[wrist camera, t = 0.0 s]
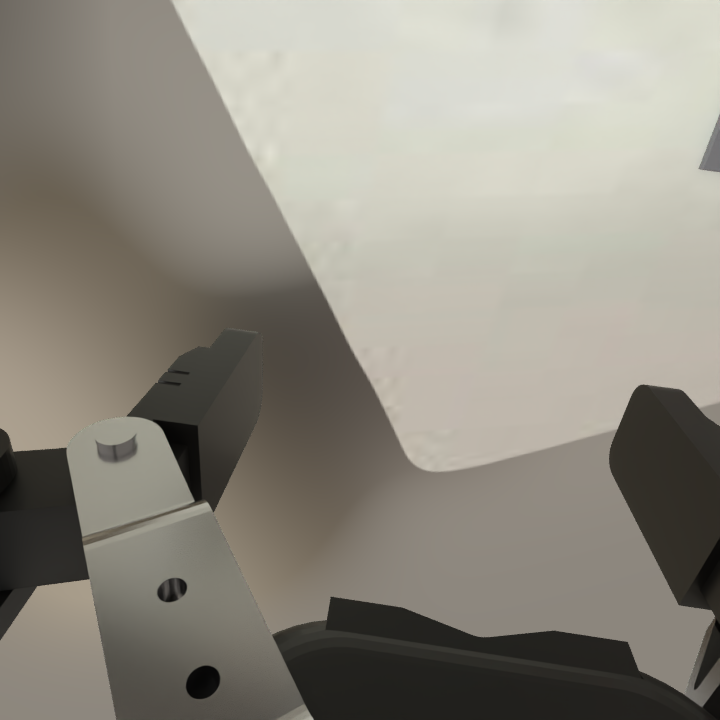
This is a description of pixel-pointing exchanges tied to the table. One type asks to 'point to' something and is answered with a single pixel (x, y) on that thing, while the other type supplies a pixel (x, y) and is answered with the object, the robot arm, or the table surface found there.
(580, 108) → the table surface
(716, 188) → the table surface
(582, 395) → the table surface
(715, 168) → the rubber mat
